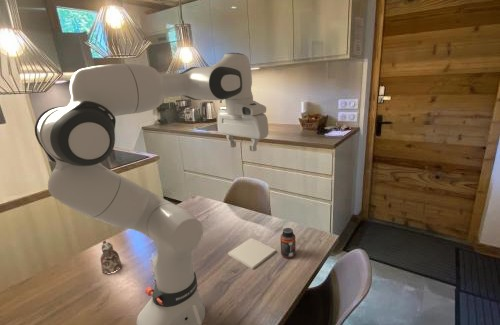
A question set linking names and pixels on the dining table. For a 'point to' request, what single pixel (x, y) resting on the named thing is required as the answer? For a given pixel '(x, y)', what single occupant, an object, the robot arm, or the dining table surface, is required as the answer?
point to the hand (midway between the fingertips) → (242, 148)
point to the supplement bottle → (288, 243)
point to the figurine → (109, 258)
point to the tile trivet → (251, 253)
